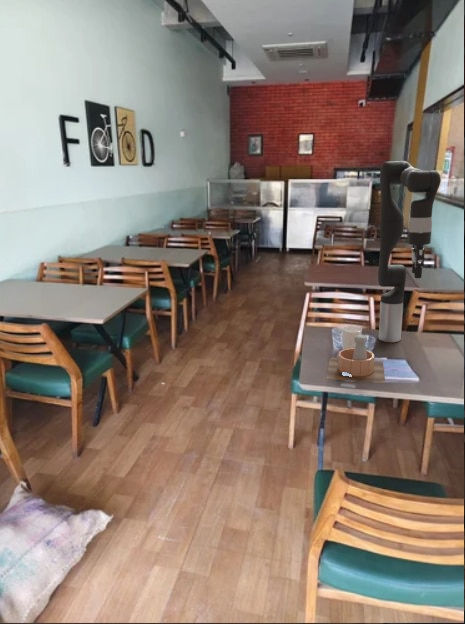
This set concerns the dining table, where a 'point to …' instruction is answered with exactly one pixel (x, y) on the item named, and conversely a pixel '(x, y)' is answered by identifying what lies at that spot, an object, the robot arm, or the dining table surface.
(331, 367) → the walnut board
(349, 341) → the white cup
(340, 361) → the wooden bowl
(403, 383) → the dining table surface
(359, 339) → the salt shaker
